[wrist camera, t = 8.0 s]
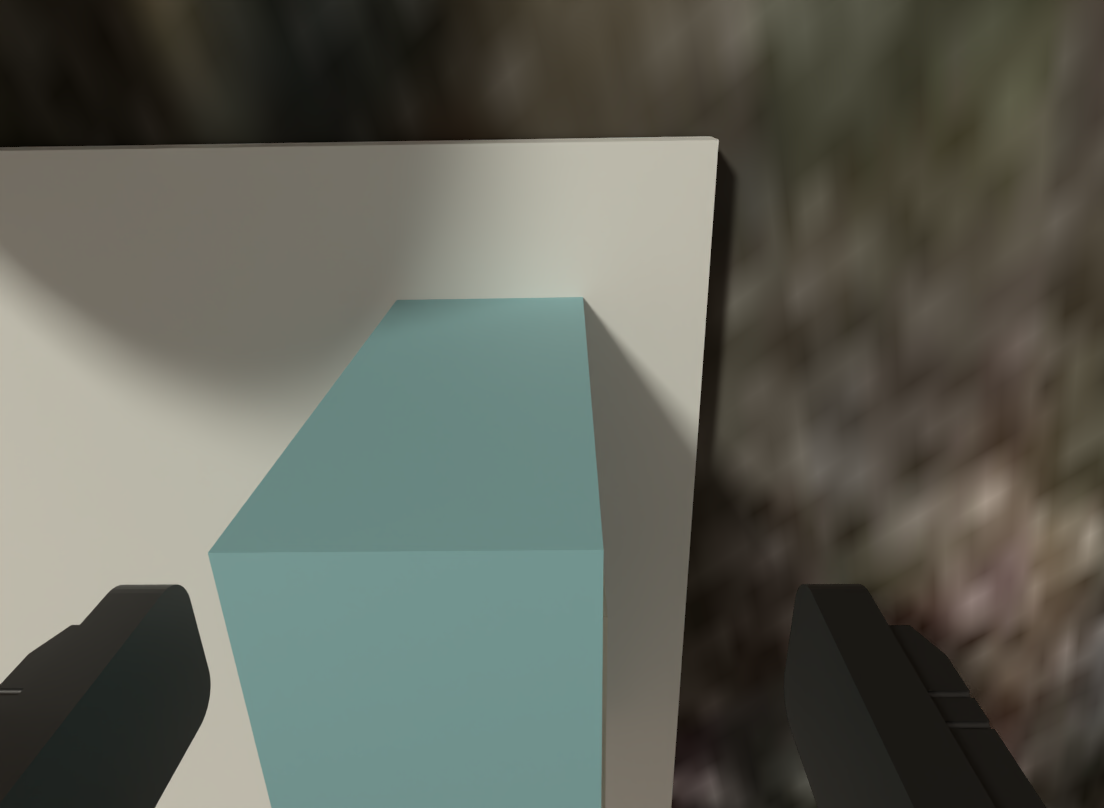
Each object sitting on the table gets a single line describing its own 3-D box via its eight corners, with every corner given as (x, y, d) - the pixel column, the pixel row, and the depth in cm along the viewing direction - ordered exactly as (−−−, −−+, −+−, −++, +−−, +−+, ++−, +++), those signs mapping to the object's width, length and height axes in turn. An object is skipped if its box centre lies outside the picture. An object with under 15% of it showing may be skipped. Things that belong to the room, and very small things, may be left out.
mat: (-234, 150, 10) (-279, 154, 10) (710, 135, 10) (718, 139, 9) (55, 837, 16) (37, 864, 15) (663, 839, 16) (666, 867, 15)
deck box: (393, 300, 10) (200, 553, 5) (586, 296, 10) (612, 550, 5) (439, 723, 14) (355, 1163, 8) (587, 722, 14) (602, 1165, 8)
